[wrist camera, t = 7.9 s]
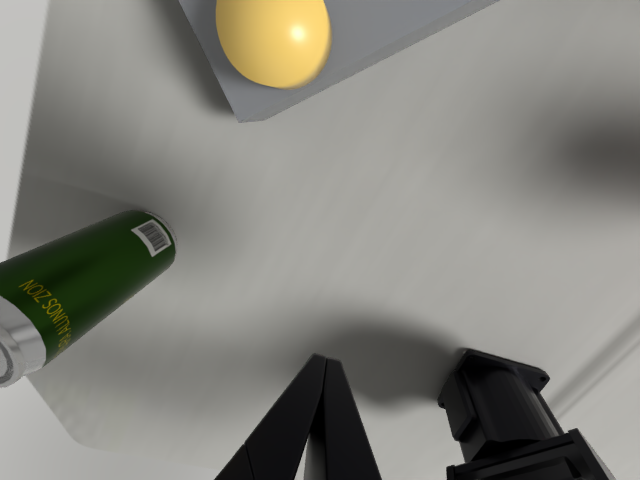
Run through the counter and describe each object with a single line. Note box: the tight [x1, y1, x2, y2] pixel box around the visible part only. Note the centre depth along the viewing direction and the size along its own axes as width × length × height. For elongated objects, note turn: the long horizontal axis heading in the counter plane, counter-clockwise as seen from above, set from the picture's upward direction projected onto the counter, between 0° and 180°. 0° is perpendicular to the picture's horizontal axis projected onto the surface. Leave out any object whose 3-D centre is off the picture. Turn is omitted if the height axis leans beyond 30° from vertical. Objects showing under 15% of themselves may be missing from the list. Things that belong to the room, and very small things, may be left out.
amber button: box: [216, 0, 332, 90], centre depth 13 cm, size 4×4×6 cm
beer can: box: [0, 210, 178, 387], centre depth 18 cm, size 5×5×12 cm
